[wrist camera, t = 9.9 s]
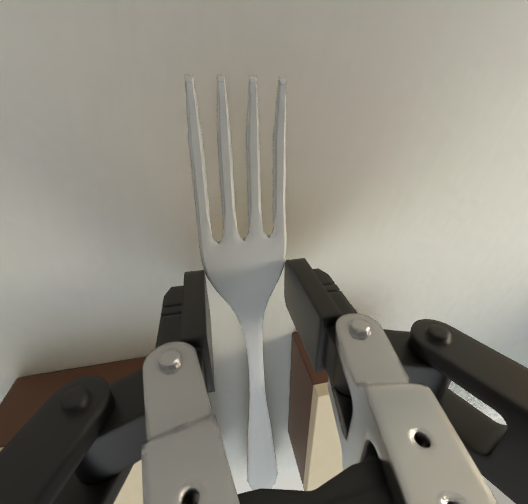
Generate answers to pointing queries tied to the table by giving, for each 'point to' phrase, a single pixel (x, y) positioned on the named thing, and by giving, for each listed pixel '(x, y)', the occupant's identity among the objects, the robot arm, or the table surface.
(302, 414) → the cake slice
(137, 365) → the cake
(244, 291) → the fork
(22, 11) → the table surface
